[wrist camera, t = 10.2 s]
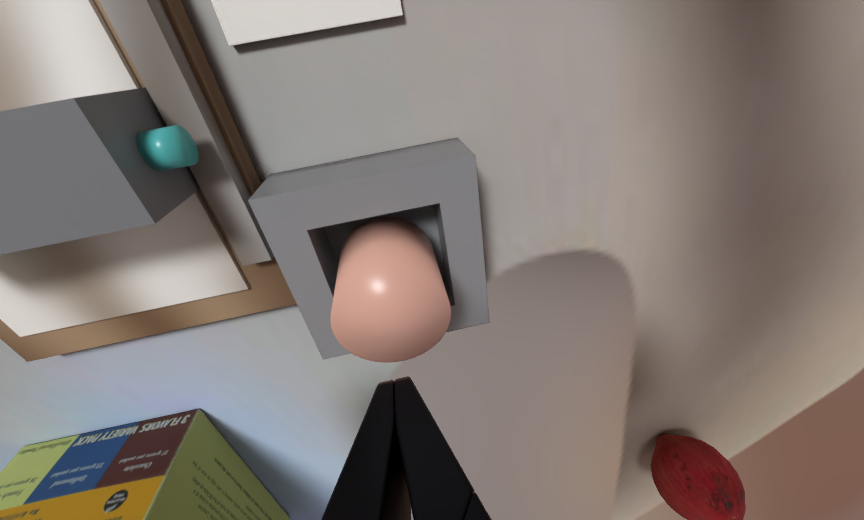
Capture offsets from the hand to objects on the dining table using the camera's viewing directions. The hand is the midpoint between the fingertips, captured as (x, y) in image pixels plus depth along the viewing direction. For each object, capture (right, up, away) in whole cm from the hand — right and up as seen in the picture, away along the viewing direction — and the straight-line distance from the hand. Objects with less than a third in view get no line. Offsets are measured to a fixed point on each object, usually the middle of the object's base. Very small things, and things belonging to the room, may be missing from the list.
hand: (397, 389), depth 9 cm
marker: (-12, +7, +3) cm, 14 cm away
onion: (+21, -12, +22) cm, 33 cm away
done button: (-1, +3, +6) cm, 7 cm away
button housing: (-1, +4, +8) cm, 9 cm away
